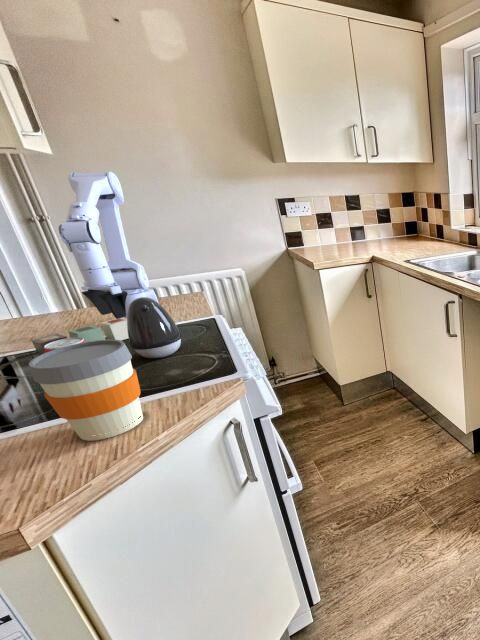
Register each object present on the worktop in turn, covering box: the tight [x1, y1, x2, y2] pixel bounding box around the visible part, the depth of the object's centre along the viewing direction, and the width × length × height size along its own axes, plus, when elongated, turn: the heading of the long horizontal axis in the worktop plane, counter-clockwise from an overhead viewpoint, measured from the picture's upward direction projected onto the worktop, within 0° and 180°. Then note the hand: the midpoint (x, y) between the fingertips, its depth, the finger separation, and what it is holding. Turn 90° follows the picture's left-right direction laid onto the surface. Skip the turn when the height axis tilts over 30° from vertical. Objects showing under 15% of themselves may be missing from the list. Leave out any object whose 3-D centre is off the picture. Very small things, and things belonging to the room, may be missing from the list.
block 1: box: [31, 333, 68, 356], centre depth 107 cm, size 5×5×5 cm
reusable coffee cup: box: [28, 339, 144, 442], centre depth 75 cm, size 13×13×15 cm
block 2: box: [67, 324, 107, 342], centre depth 113 cm, size 5×5×5 cm
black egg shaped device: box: [127, 297, 182, 359], centre depth 105 cm, size 10×10×15 cm
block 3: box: [99, 317, 129, 341], centre depth 119 cm, size 5×5×5 cm
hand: (113, 315), depth 118 cm, fingers open, 7 cm apart
